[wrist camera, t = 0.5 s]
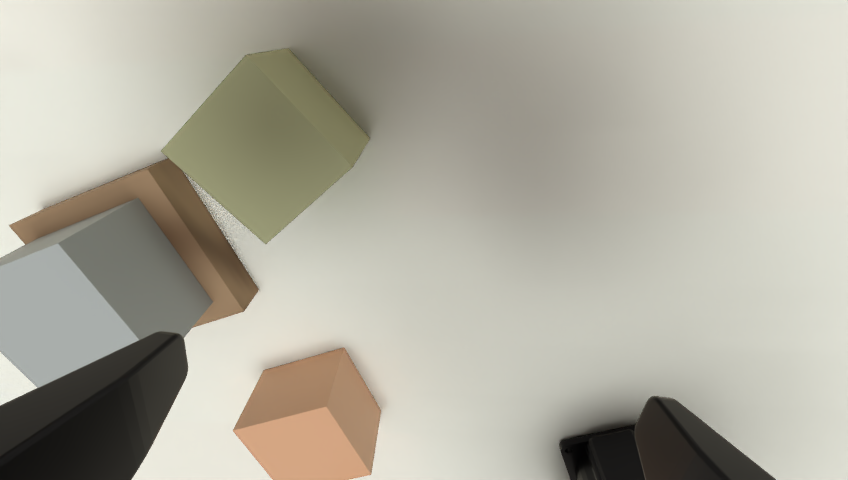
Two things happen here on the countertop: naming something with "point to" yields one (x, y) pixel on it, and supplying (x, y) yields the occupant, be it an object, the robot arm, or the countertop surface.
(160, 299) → the grey block
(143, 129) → the countertop surface
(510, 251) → the countertop surface
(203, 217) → the walnut slab
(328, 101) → the olive block
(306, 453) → the terracotta block
